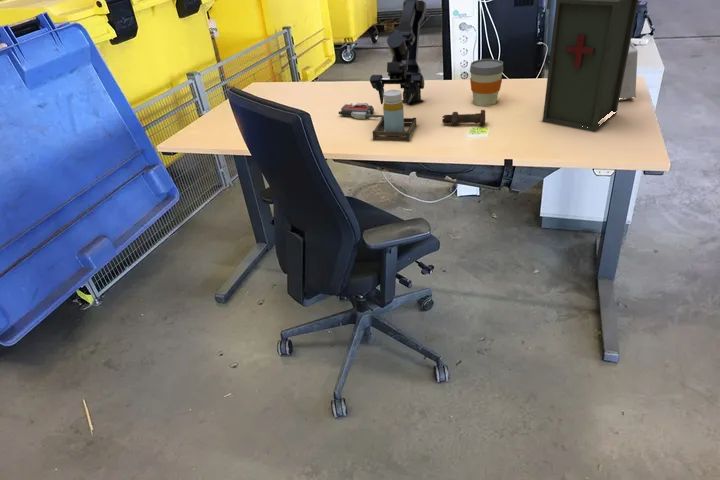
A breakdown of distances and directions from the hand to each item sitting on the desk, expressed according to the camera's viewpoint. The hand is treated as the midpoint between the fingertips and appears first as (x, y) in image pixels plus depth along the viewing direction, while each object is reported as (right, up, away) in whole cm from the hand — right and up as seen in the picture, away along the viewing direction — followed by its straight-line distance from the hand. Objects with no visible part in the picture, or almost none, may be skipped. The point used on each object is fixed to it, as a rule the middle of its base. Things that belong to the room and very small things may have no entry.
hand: (394, 104), depth 181 cm
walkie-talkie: (-10, +1, +22) cm, 25 cm away
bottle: (0, -10, +4) cm, 11 cm away
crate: (+1, -9, +5) cm, 10 cm away
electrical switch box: (+83, +7, +17) cm, 85 cm away
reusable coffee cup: (+37, +7, +23) cm, 45 cm away
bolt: (+26, -6, +6) cm, 27 cm away
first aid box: (+66, -5, +2) cm, 66 cm away
